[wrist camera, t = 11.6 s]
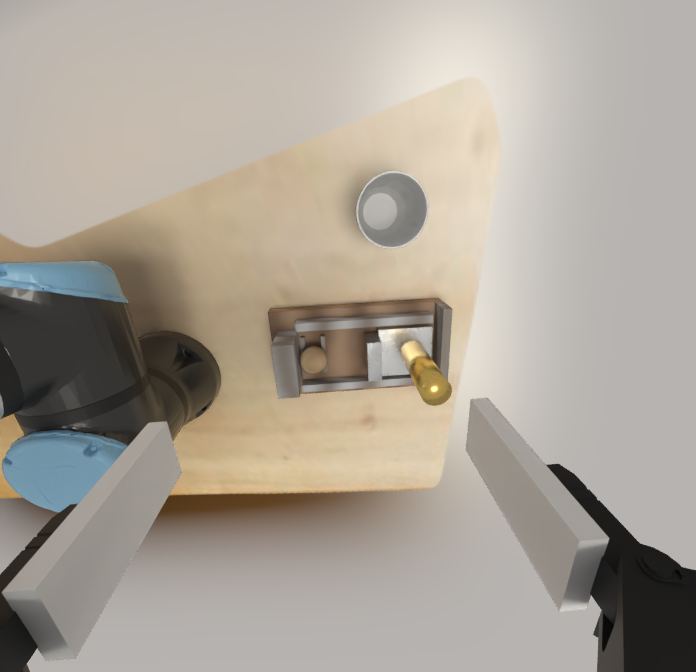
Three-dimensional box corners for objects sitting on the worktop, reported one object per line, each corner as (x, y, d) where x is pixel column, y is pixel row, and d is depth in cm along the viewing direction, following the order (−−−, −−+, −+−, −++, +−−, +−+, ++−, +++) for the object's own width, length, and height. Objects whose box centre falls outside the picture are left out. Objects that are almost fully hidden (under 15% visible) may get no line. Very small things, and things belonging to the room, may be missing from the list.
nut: (302, 366, 51) (300, 379, 47) (299, 343, 49) (297, 353, 46) (328, 365, 51) (328, 377, 47) (326, 341, 50) (326, 351, 46)
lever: (365, 372, 52) (377, 424, 39) (363, 327, 49) (376, 367, 36) (427, 368, 52) (459, 417, 39) (429, 323, 50) (464, 360, 37)
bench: (281, 389, 55) (274, 417, 47) (270, 308, 50) (260, 325, 42) (434, 378, 56) (451, 403, 48) (438, 298, 51) (457, 312, 43)
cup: (410, 237, 47) (430, 242, 38) (355, 245, 47) (361, 253, 38) (405, 175, 44) (426, 165, 35) (346, 184, 44) (351, 177, 35)
